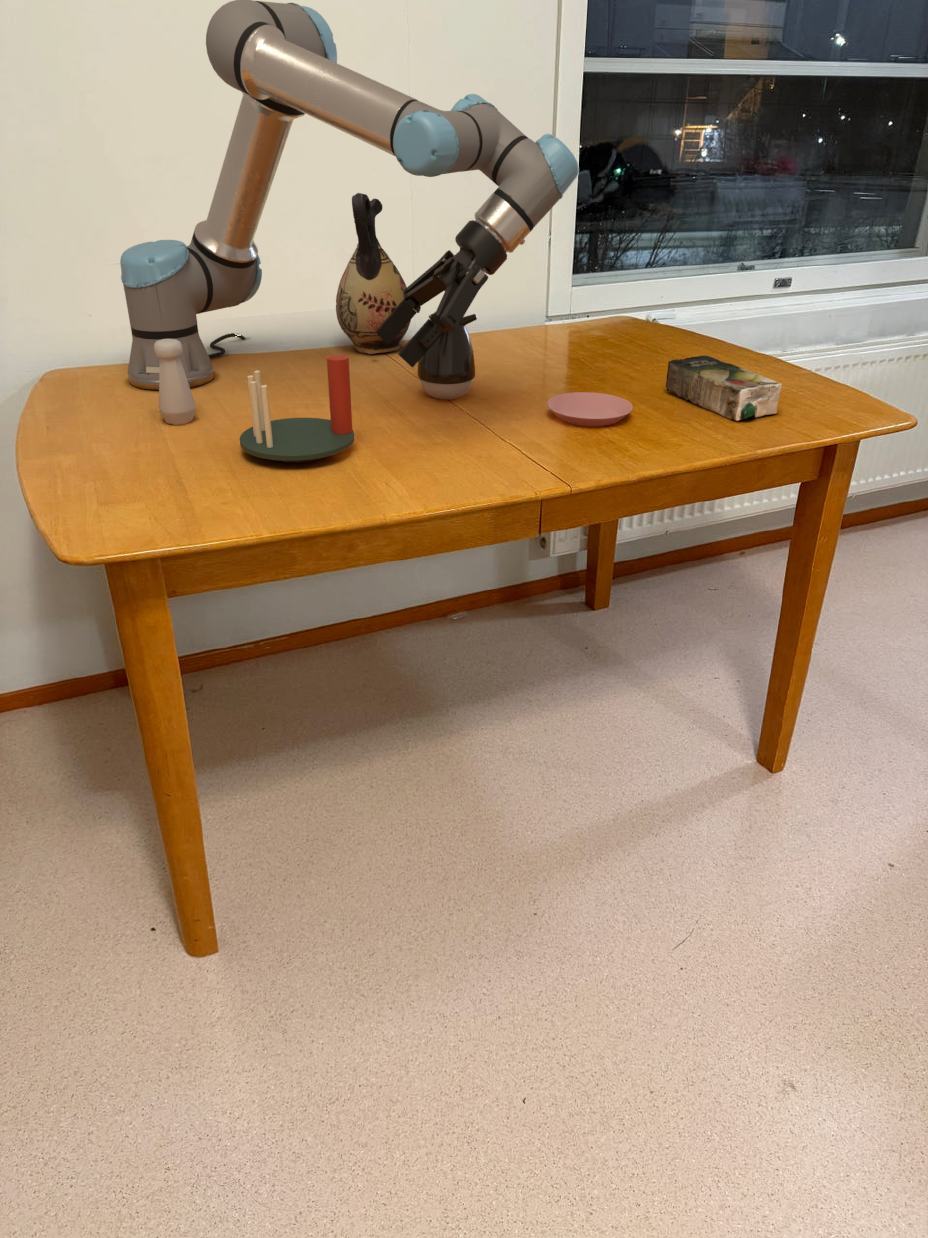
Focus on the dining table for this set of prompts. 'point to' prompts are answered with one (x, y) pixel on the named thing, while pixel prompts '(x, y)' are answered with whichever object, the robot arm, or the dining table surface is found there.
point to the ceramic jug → (369, 284)
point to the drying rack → (301, 422)
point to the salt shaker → (173, 384)
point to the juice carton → (723, 387)
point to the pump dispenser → (449, 364)
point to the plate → (589, 408)
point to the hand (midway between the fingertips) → (392, 349)
